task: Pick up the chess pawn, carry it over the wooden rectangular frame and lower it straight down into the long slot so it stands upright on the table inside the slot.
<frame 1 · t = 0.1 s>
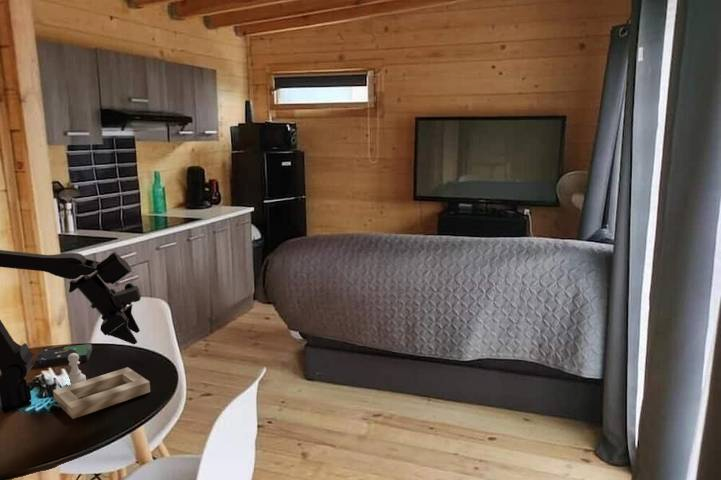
hand: (137, 337, 150), 15 cm above the table, tool tilted 35°, fingers open, 9 cm apart
wooden rectangular frame: (103, 396, 148), on the table
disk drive: (65, 360, 174), on the table
chess pawn: (76, 383, 156), on the table
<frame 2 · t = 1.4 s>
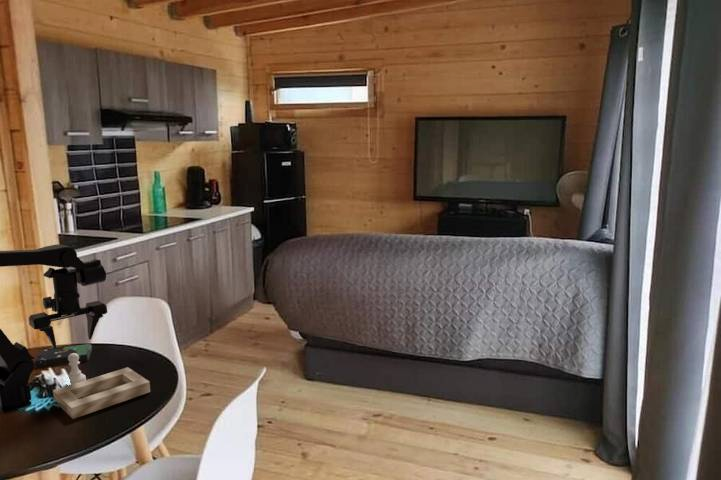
hand: (72, 343, 154), 12 cm above the table, tool pointing down, fingers open, 9 cm apart
nothing on the table moved.
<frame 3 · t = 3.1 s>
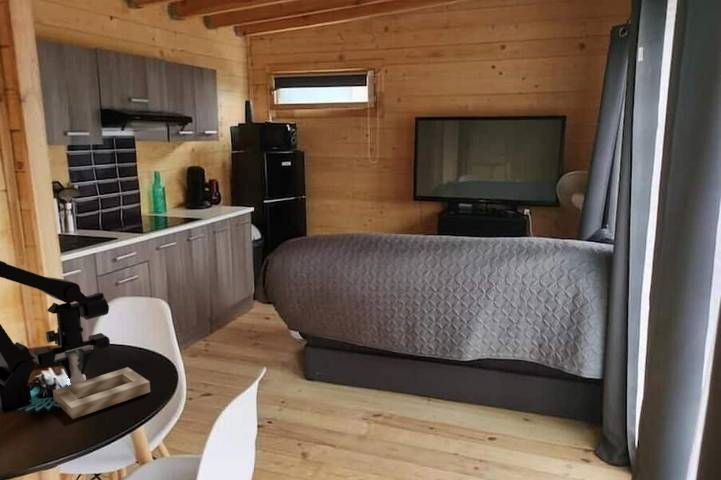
hand: (75, 376, 156), 2 cm above the table, tool pointing down, fingers closed on chess pawn, 3 cm apart
chess pawn: (76, 383, 156), on the table, touching gripper
everything else where it was.
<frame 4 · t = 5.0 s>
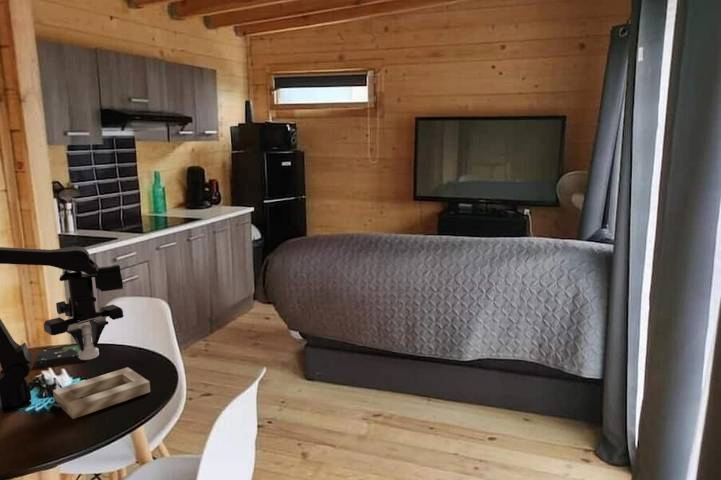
hand: (88, 349, 149), 12 cm above the table, tool pointing down, fingers closed on chess pawn, 3 cm apart
chess pawn: (89, 357, 149), point 10 cm above the table, touching gripper
everything else where it was.
when the fingers open (3 cm above the table, at t = 7.2 s): chess pawn drops 1 cm, resting in wooden rectangular frame.
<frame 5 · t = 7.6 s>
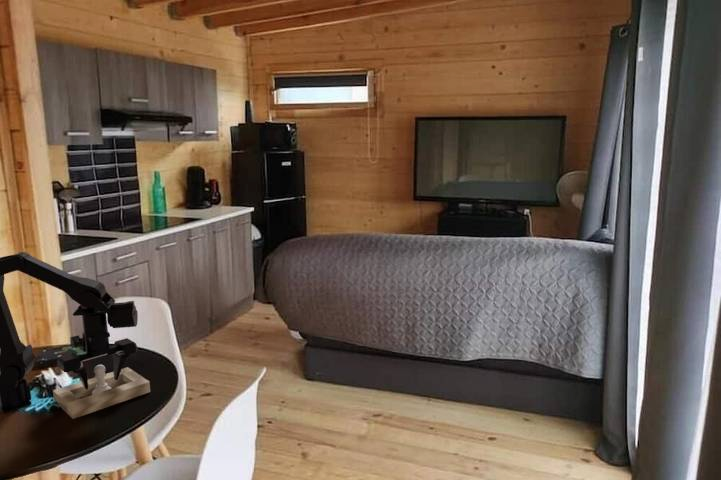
hand: (101, 384, 147), 3 cm above the table, tool pointing down, fingers open, 7 cm apart
chess pawn: (102, 397, 148), resting in wooden rectangular frame
everything else where it was.
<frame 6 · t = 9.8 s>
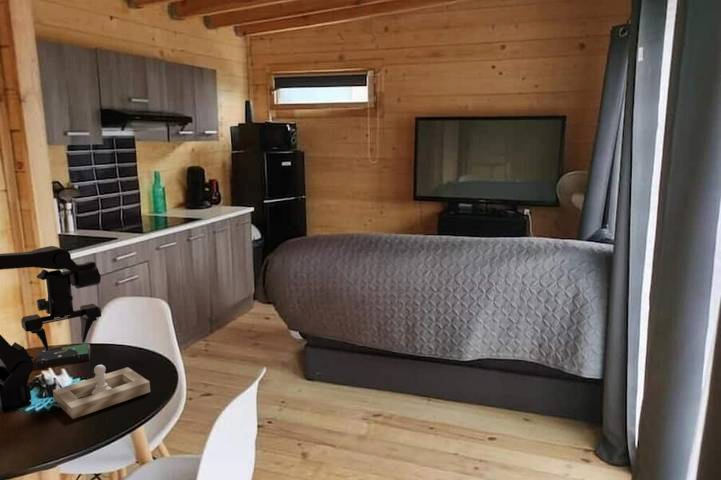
hand: (65, 346, 152), 12 cm above the table, tool pointing down, fingers open, 9 cm apart
nothing on the table moved.
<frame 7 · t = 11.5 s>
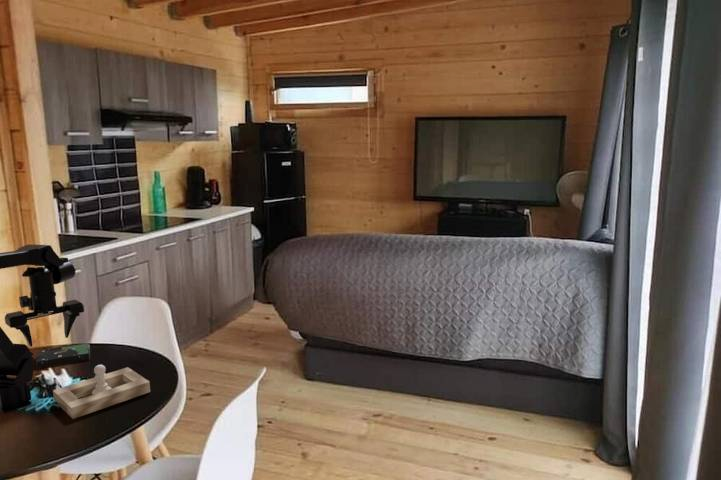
hand: (49, 341, 155), 12 cm above the table, tool pointing down, fingers open, 9 cm apart
nothing on the table moved.
at the end: chess pawn inside the target area on the wooden rectangular frame (0.1 cm from its centre), point 0.0 cm above the wooden rectangular frame's base; chess pawn tilted 0°; the gripper is holding nothing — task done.
